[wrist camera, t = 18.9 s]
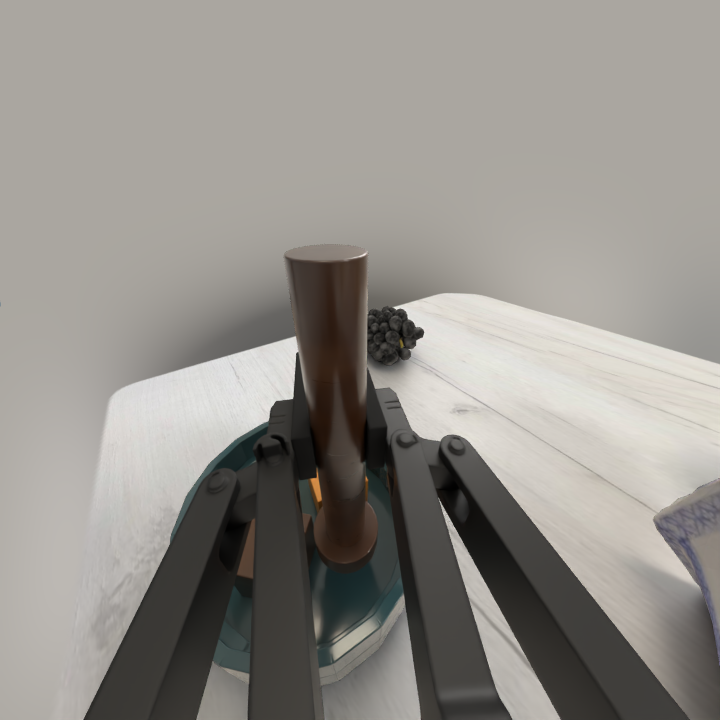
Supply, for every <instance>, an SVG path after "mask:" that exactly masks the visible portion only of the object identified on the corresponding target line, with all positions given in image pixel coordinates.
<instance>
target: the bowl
mask: <svg viewBox="0 0 720 720" xmlns="http://www.w3.org/2000/svg"><path fill="white" fill-rule="evenodd" d="M268 423H269V421H268V422H265V423H263V424H261V425H260V426H258V427H256V428H254V429H253V430H251V431H249V432H248V433H246V434H244V435H243V436H241V437H239V438H237V440H235V441H234V442H233V443H231V444H230V445H229V446H228V447H227V448H226V449H225V450H224V451H223V452H221V453H220V454H219V455H218V456H217V457H216V458H215V459H214V460H213V461H211V462H210V464H209V465H208V466H207V468H206V469H205V470H204V472H203V473H202V475H201V476H200V477H199V479H198V480H197V482H196V483H195V484H194V486H193V487H192V489H191V490H190V491H189V493H188V494H187V496H186V498H185V501H184V503H183V506H182V508H181V511H180V513H179V516H178V519H177V521H176V524H175V526H174V529H173V531H172V534H171V538H170V543H171V541H172V539H173V537H174V535H175V533H176V531H177V529H178V527H179V525H180V523H181V521H182V519H183V517H184V515H185V513H186V511H187V509H188V507H189V505H190V503H191V501H192V499H193V497H194V495H195V493H196V490H197V488H198V486H199V485H200V483H201V482H202V480H203V479H204V478H205V477H206V476H207V475H208V474H210V473H211V472H213V471H215V470H217V469H222V468H228V469H232V470H233V471H234V472H236V471H239V470H241V469H243V468H246V467H248V466H250V465H252V464H253V463H255V462H256V458H255V455H254V453H253V447H254V444H255V443H256V441H257V440H258V439H259V438H261V437H262V436H264V435H266V434H267V429H268V425H269V424H268ZM387 471H388V470H387V466H386V463H385V467H383V468H376V469H370V470H369V469H368V465H367V460H366V477H367V479H368V499H367V502H368V503H369V504H370V506H371V507H372V508H373V510H374V512H375V514H376V517H377V522H378V536H377V545H376V549H375V552H374V554H373V556H372V558H371V560H370V561H369V562H368V563H367V564H366V565H365V566H364V567H363V568H361V569H360V570H358V571H356V572H353V573H348V574H342V573H337V572H335V571H333V570H331V569H329V568H328V567H327V566H326V565H325V564H324V563H323V562H322V560H321V559H320V557H319V555H318V552H317V548H316V546H315V549H314V553H313V556H312V560H311V563H310V567H309V570H308V571H309V580H310V590H311V599H312V608H313V618H314V627H315V636H316V646H317V655H318V665H319V674H320V683H321V686H323V685H327V684H331V683H334V682H337V681H340V680H341V679H342V678H343V677H345V676H346V675H347V674H348V673H350V672H351V671H352V670H353V669H355V668H356V667H357V666H358V665H360V664H361V663H362V662H363V661H365V660H366V659H367V658H368V657H370V656H371V655H372V654H373V653H375V652H376V651H377V650H378V649H379V648H380V646H381V645H382V643H383V641H384V640H385V638H386V637H387V635H388V633H389V632H390V630H391V629H392V627H393V625H394V624H395V622H396V620H397V619H398V617H399V616H400V614H401V612H402V611H403V609H404V607H405V599H404V592H403V585H402V578H401V571H400V564H399V557H398V550H397V543H396V536H395V529H394V522H393V515H392V509H391V502H390V495H389V488H388V487H386V482H387ZM299 489H300V496H301V505H302V513H304V514H309V515H311V516H312V521H313V526H314V522H315V519H316V516H317V510H316V507H315V504H314V501H313V497H312V494H311V491H310V488H309V483H308V479H306V480H300V479H299ZM251 617H252V598H250V597H246V596H242V595H241V594H240V593H239V591H238V590H237V589H236V587H235V586H233V590H232V593H231V597H230V601H229V604H228V608H227V611H226V615H225V618H224V622H223V625H222V629H221V633H220V636H219V640H218V643H217V647H216V650H215V654H214V657H213V661H214V662H215V663H216V664H217V665H218V666H219V667H221V668H222V669H224V670H225V671H227V672H229V673H230V674H232V675H233V676H235V677H236V678H238V679H240V680H241V681H243V682H244V683H246V684H249V669H250V643H251Z"/></svg>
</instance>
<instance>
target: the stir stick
mask: <svg viewBox="0 0 720 720" xmlns="http://www.w3.org/2000/svg"><path fill="white" fill-rule="evenodd" d="M284 262H285V269H286V275H287V281H288V287H289V294H290V300H291V307H292V313H293V320H294V325H295V332H296V339H297V345H298V351H299V358H300V364H301V370H302V377H303V383H304V389H305V396H306V402H307V408H308V415H309V421H310V426H311V433H312V439H313V445H314V452H315V458H316V464H317V472H318V478H319V485H320V491H321V497H322V504H323V506H322V508H321V509H320V510H319V512H318V514H317V516H316V519H315V522H314V539H315V544H316V548H317V552H318V555H319V557H320V559H321V560H322V562H323V563H324V564H325V565H326V566H327V567H328V568H329V569H331V570H333V571H335V572H337V573H342V574H348V573H353V572H356V571H358V570H360V569H361V568H363V567H364V566H365V565H366V564H367V563H368V562H369V561H370V560H371V558H372V556H373V554H374V552H375V549H376V545H377V536H378V522H377V517H376V514H375V512H374V510H373V508H372V507H371V506H370V504H369V503H368V502H367V501H365V492H366V403H367V315H368V314H367V313H368V312H367V311H368V309H367V308H368V252H367V250H365V249H363V248H360V247H356V246H350V245H336V244H335V245H334V244H327V245H311V246H304V247H298V248H294V249H291V250H289V251H287V252H285V253H284Z"/></svg>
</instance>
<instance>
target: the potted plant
mask: <svg viewBox="0 0 720 720" xmlns="http://www.w3.org/2000/svg"><path fill="white" fill-rule="evenodd" d="M653 521H654V523H655V526H656V528H657V530H658V531H659V533H660V534H661V535H662V536H663V537H664V539H665V541H666V542H667V543H668V545H669V546H670V547H671V549H672V550H673V551H674V553H675V554H676V555H677V556H678V558H679V559H680V560H681V562H682V563H683V564H684V566H685V567H686V569H687V570H688V571H689V573H690V574H691V576H692V577H693V579H694V581H695V582H696V583H697V584H698V585H699V586H700V587H701V590H702V593H703V596H704V598H705V601H706V604H707V607H708V610H709V614H710V617H711V620H712V624H713V630H714V635H715V641H716V647H717V653H718V659H719V664H720V478H719V479H717V480H714V481H712V482H710V483H707V484H705V485H702V486H700V487H698V488H697V489H696V490H695V491H694V492H693V493H692V494H689V495H687V496H684V497H681V498H678V499H677V500H676V501H675V502H674V503H673V504H671V505H670V506H669V507H666V508H664V509H662V510H661V511H660V512H659V513H658V514H657V515H656V516H655V517H654V519H653Z"/></svg>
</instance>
